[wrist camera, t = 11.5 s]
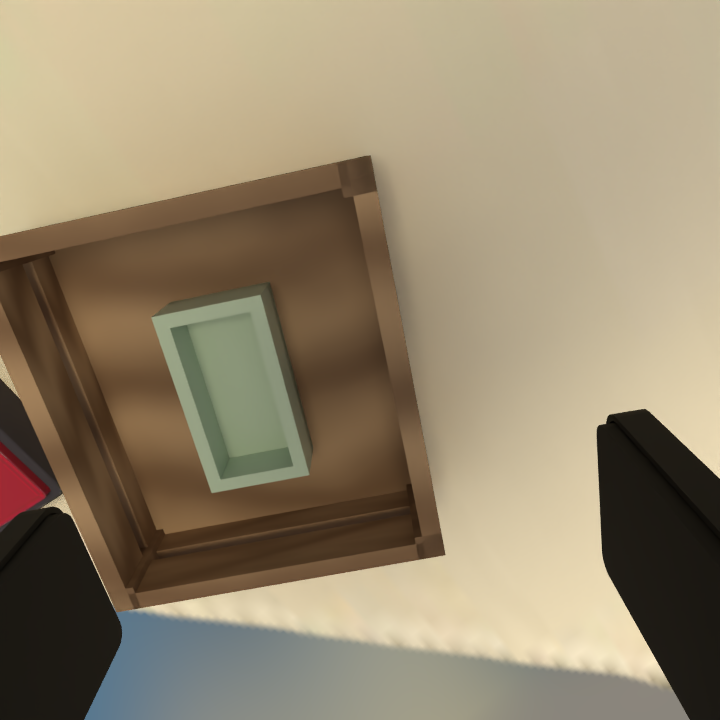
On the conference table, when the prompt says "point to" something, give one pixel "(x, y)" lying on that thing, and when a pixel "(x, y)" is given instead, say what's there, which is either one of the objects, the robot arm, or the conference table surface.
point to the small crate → (236, 386)
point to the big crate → (162, 405)
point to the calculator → (21, 462)
